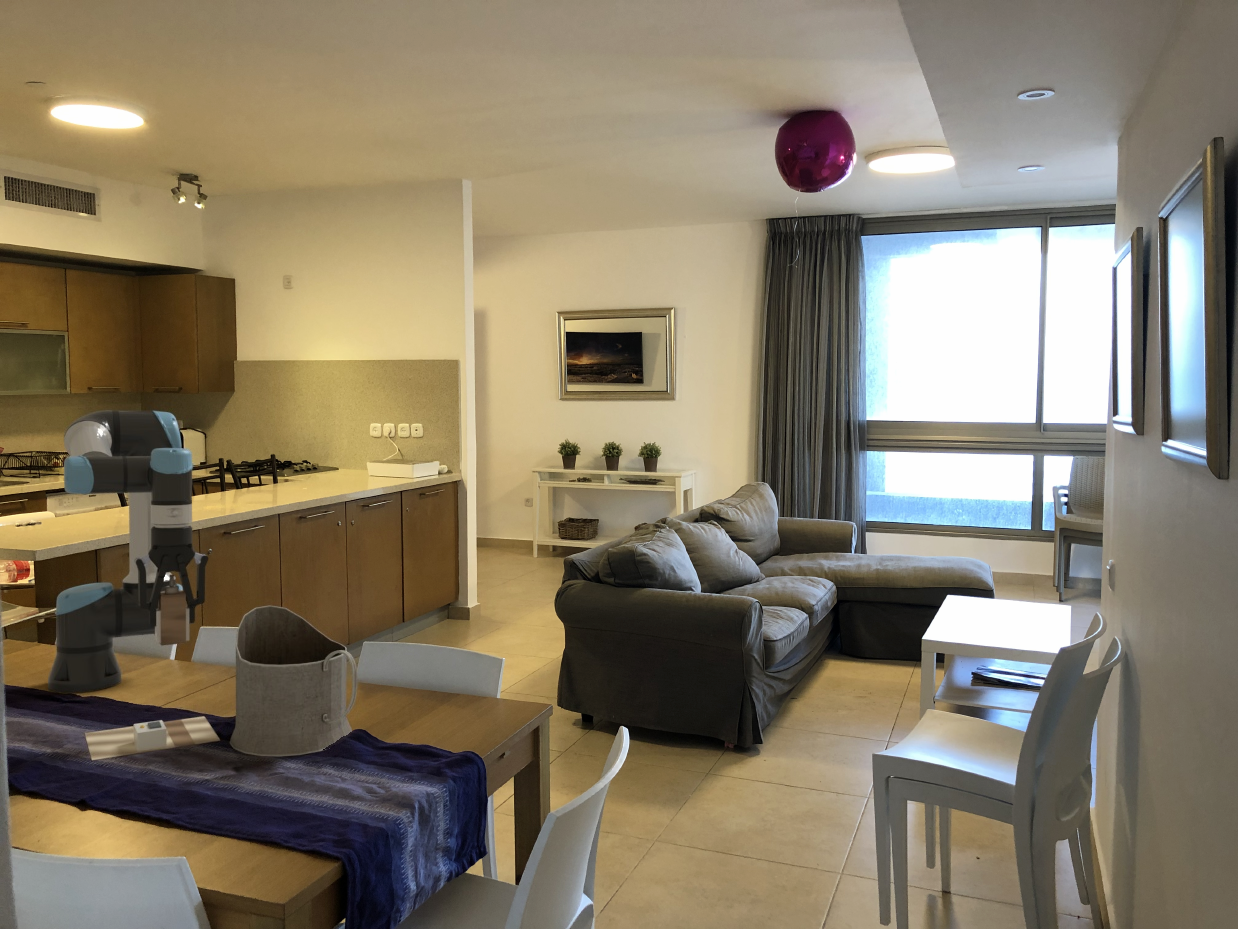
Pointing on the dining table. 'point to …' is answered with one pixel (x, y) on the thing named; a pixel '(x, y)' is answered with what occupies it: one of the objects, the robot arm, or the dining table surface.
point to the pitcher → (288, 685)
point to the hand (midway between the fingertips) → (172, 640)
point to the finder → (150, 735)
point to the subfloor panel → (123, 744)
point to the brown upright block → (172, 614)
